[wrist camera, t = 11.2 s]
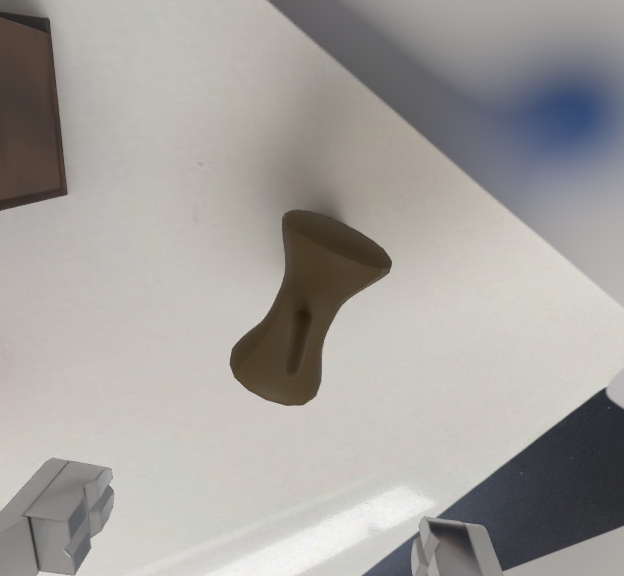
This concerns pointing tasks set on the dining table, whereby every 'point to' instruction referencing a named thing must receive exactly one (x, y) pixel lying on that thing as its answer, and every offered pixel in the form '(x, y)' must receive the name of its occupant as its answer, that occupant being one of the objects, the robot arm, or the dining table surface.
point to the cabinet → (28, 114)
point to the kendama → (305, 306)
